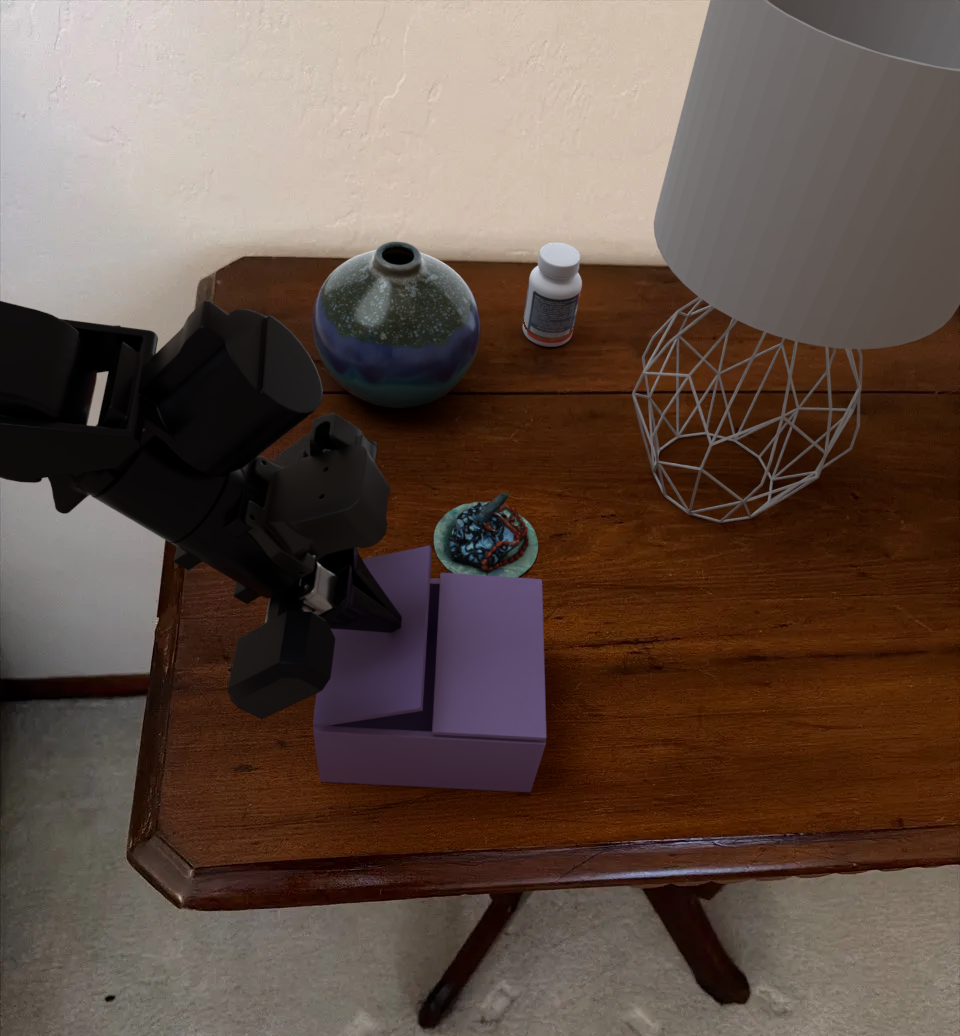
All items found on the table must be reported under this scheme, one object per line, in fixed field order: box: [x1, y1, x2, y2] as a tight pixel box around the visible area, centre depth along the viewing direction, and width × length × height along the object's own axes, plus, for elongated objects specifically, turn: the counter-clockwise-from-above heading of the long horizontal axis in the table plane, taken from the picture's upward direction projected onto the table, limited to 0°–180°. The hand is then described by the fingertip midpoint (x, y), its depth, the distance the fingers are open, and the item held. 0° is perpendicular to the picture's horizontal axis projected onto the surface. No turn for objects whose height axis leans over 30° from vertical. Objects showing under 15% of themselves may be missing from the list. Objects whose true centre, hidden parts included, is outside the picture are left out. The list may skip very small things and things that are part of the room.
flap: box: [312, 544, 433, 728], centre depth 60 cm, size 7×13×1 cm, turn 0°
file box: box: [312, 572, 547, 793], centre depth 65 cm, size 15×13×8 cm
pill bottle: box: [522, 242, 583, 348], centre depth 91 cm, size 5×5×9 cm
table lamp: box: [631, 0, 960, 524], centre depth 68 cm, size 22×22×40 cm
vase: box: [311, 240, 482, 409], centre depth 83 cm, size 15×15×13 cm
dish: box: [433, 492, 539, 578], centre depth 78 cm, size 8×7×8 cm
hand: (397, 625), depth 60 cm, fingers closed, pressing on flap
